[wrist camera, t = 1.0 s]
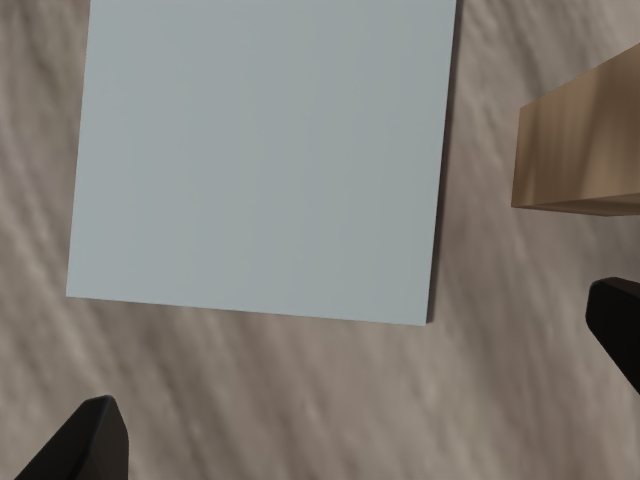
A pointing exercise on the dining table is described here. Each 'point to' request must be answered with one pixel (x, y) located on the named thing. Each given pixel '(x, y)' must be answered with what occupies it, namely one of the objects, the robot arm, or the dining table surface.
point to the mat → (262, 155)
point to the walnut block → (583, 144)
